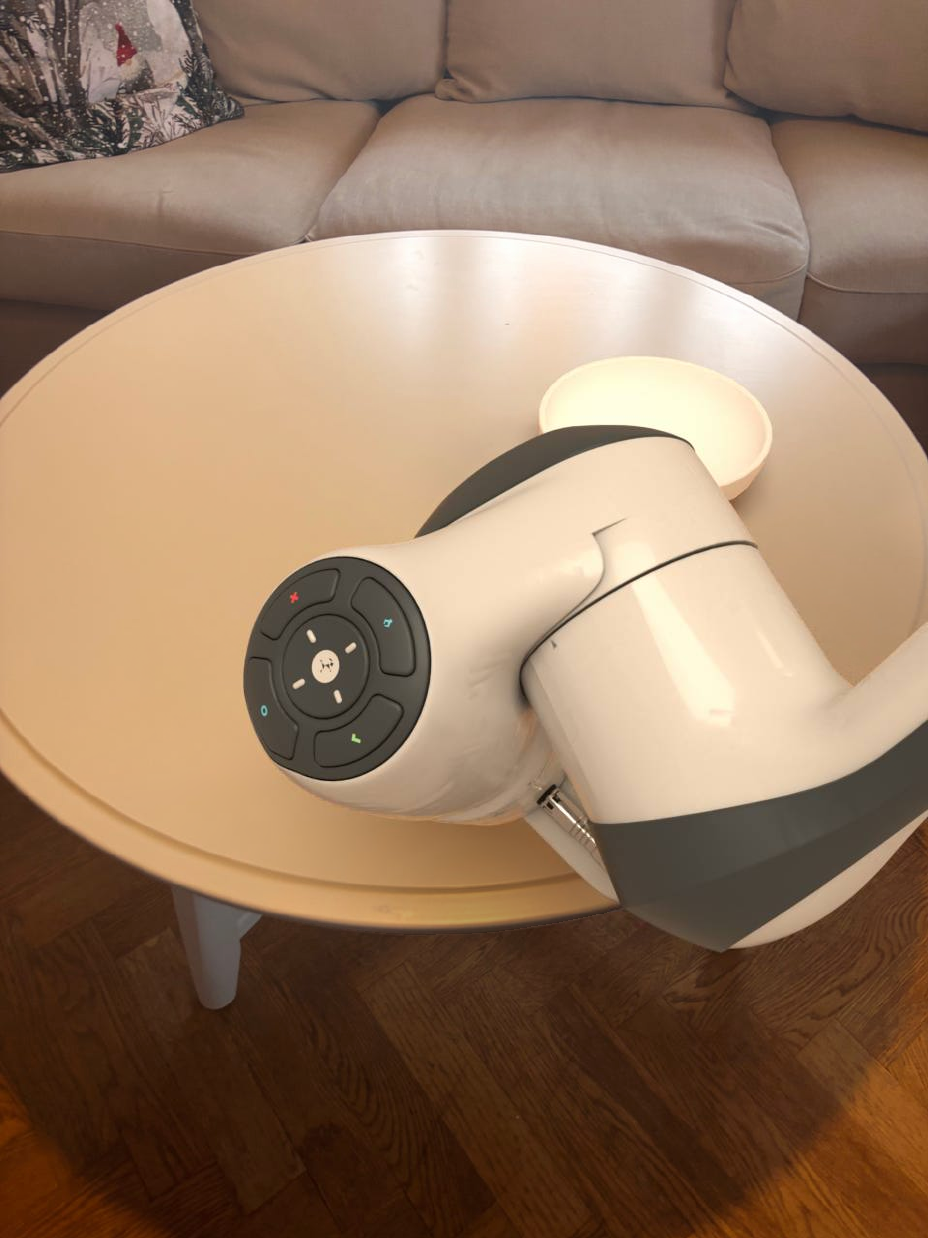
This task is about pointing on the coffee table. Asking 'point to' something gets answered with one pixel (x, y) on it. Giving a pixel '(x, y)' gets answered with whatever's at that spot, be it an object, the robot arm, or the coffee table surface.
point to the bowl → (668, 410)
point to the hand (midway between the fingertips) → (543, 753)
